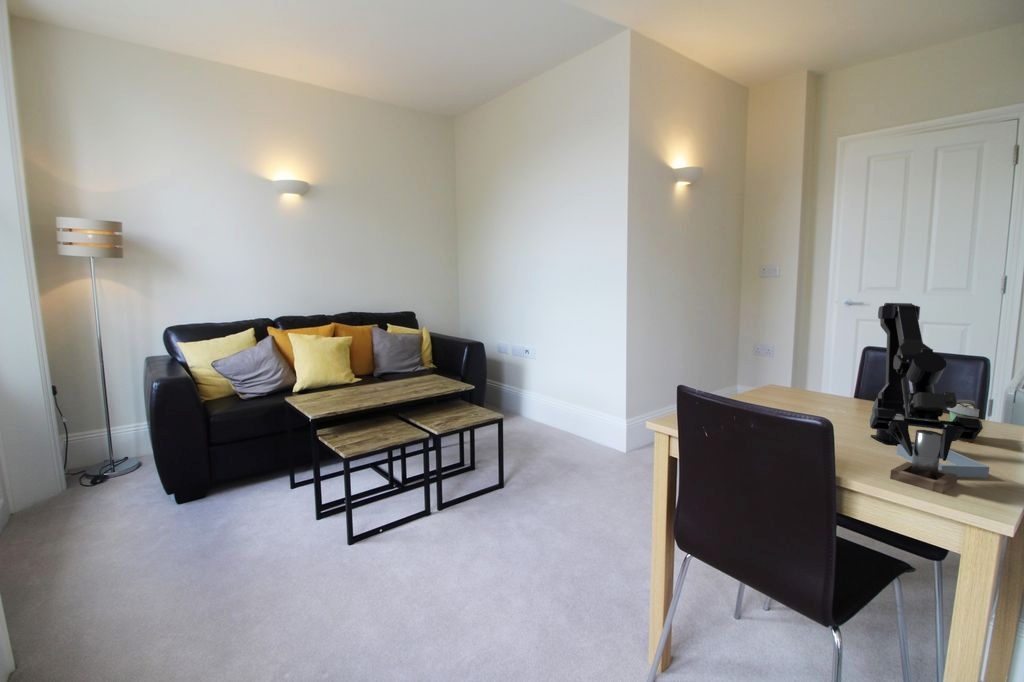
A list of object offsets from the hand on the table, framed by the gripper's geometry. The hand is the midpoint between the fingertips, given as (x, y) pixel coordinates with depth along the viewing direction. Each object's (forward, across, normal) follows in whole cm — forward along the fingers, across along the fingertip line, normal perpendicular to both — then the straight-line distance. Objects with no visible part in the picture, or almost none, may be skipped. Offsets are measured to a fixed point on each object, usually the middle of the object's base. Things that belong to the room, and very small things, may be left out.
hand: (927, 457), depth 105 cm
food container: (-28, +19, +38) cm, 51 cm away
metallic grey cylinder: (+3, 0, +5) cm, 6 cm away
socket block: (+4, 0, +6) cm, 7 cm away
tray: (-6, +6, +15) cm, 18 cm away
